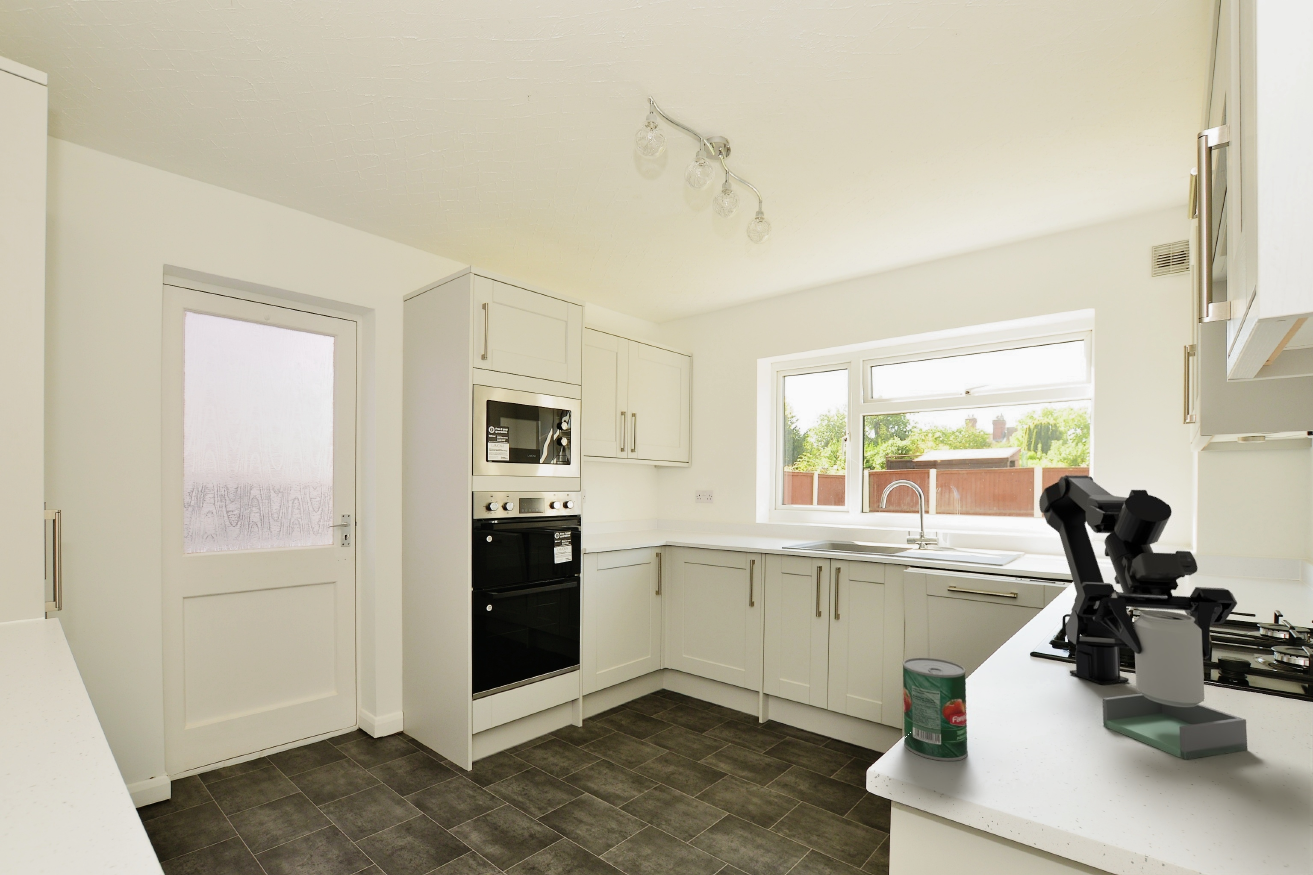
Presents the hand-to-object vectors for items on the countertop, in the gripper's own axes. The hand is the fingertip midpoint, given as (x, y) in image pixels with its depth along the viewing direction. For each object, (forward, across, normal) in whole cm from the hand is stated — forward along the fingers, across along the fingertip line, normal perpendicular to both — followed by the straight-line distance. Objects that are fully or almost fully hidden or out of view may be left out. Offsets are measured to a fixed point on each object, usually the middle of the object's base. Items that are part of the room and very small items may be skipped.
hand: (1172, 654), depth 87 cm
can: (+4, 0, +6) cm, 7 cm away
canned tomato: (+17, -32, 0) cm, 37 cm away
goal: (+8, 0, +9) cm, 12 cm away
